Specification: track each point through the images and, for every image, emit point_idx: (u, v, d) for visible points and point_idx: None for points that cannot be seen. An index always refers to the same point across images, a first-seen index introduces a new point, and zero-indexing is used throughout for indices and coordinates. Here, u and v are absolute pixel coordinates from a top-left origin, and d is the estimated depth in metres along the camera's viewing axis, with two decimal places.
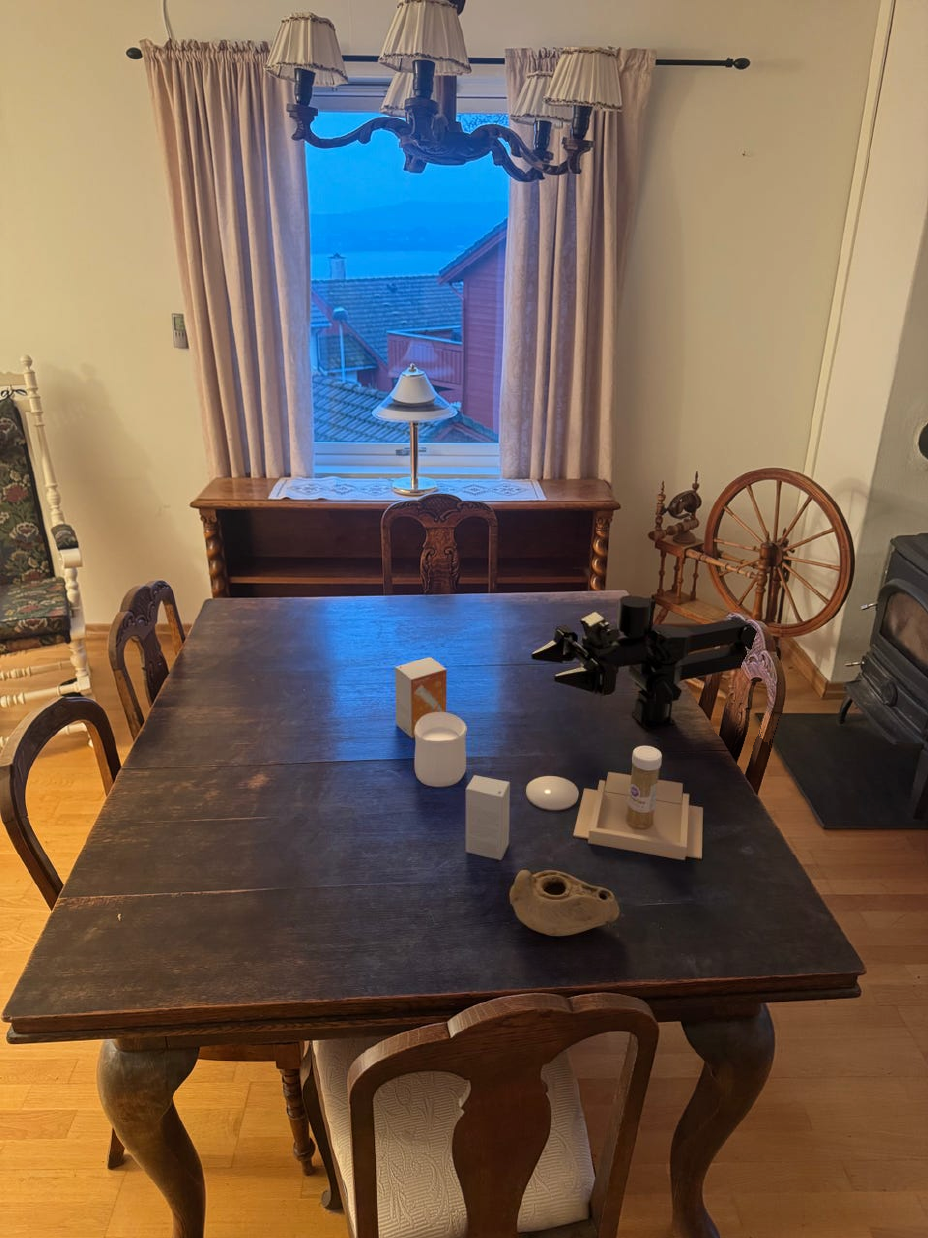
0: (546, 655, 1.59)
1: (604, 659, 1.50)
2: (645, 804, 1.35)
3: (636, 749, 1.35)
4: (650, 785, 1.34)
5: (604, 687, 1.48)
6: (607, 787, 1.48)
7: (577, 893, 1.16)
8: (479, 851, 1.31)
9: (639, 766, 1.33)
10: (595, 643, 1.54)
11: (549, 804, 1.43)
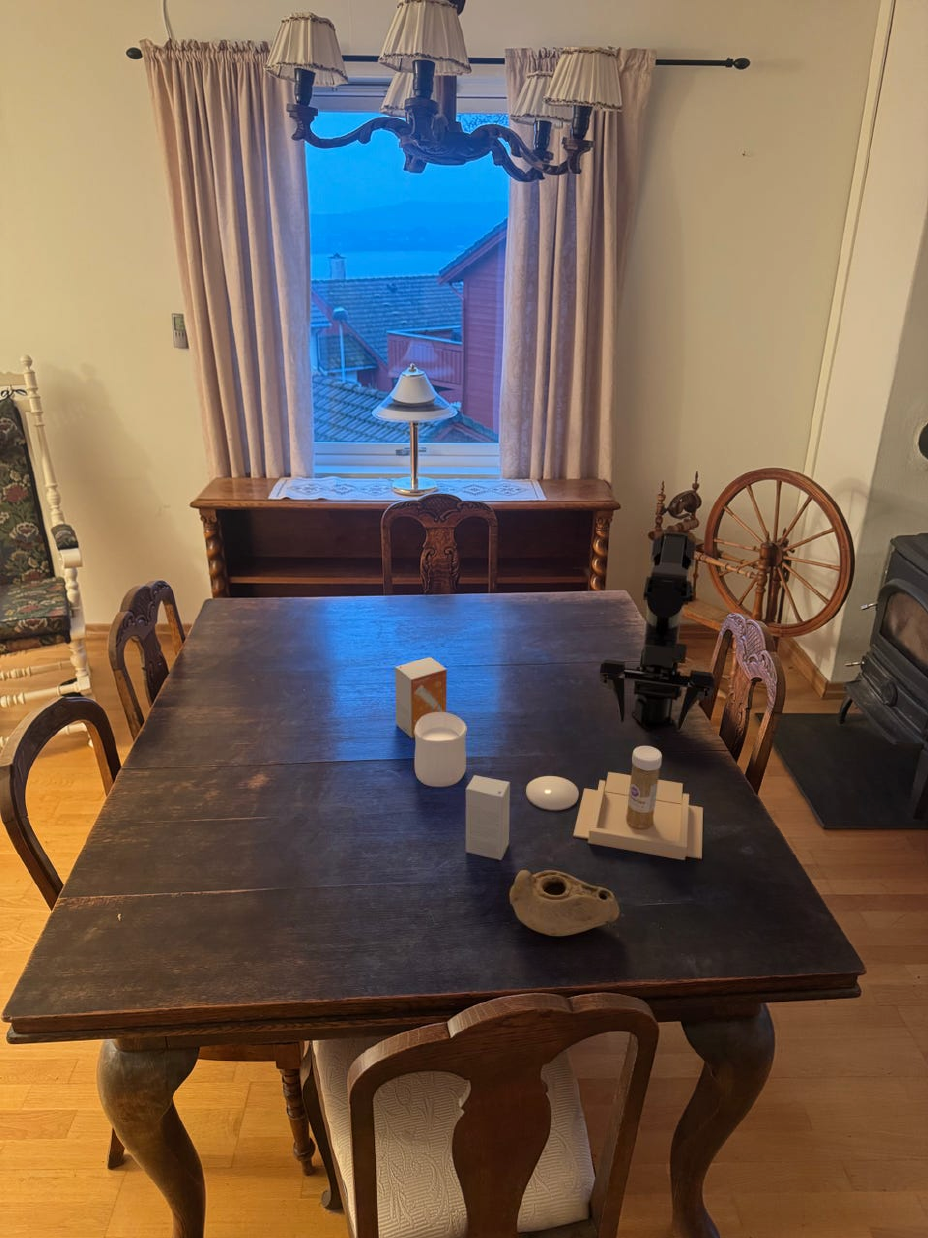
0: None
1: (697, 676, 1.39)
2: (645, 804, 1.35)
3: (636, 749, 1.35)
4: (650, 785, 1.34)
5: (711, 693, 1.42)
6: (607, 787, 1.48)
7: (577, 893, 1.16)
8: (479, 851, 1.31)
9: (639, 766, 1.33)
10: None
11: (549, 804, 1.43)
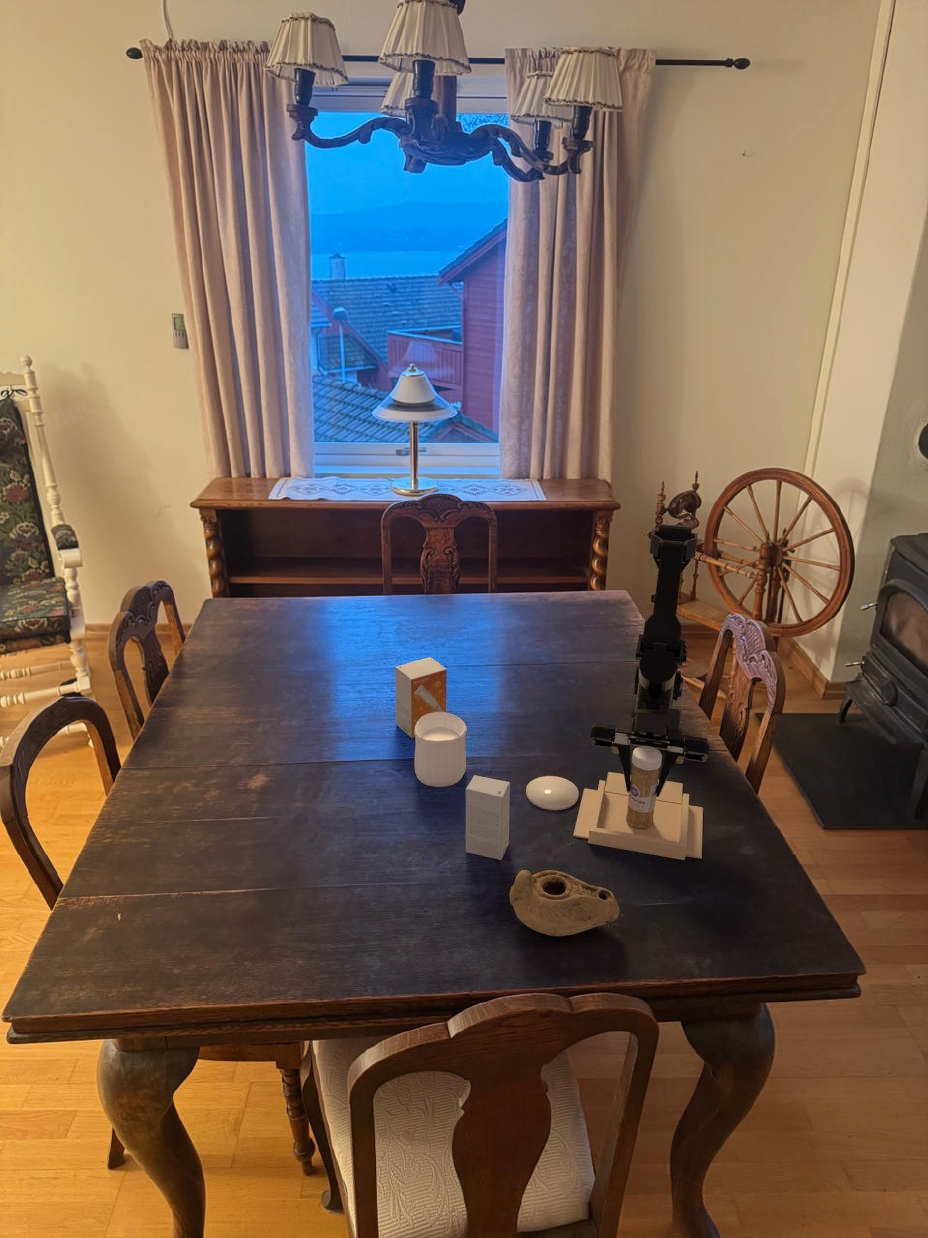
0: None
1: (691, 742, 1.34)
2: (645, 804, 1.35)
3: (636, 749, 1.35)
4: (650, 785, 1.34)
5: (706, 758, 1.36)
6: (607, 787, 1.48)
7: (577, 893, 1.16)
8: (479, 851, 1.31)
9: (639, 766, 1.33)
10: None
11: (549, 804, 1.43)
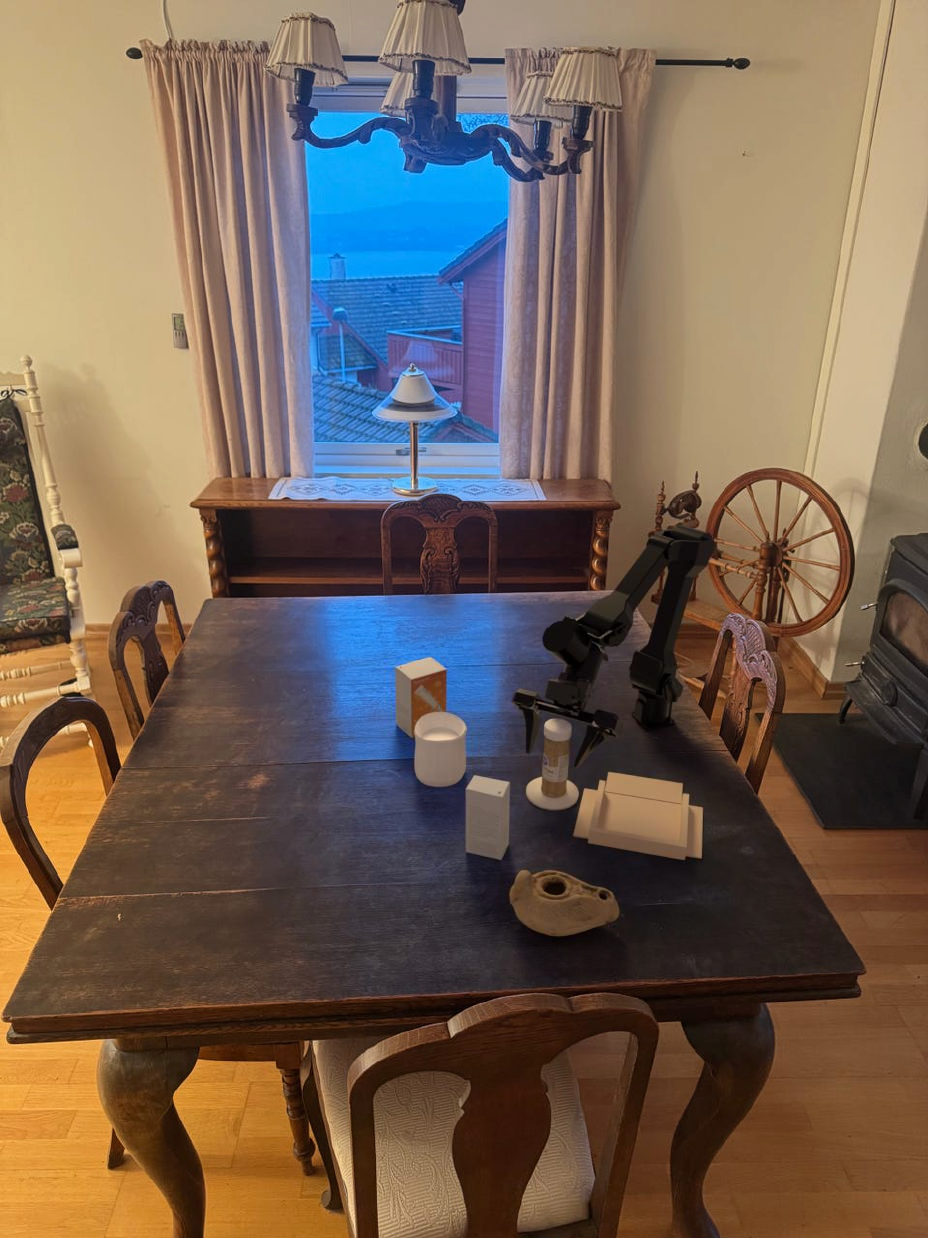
0: (534, 736, 1.45)
1: (600, 716, 1.39)
2: (554, 774, 1.42)
3: (549, 720, 1.42)
4: (558, 755, 1.40)
5: (618, 734, 1.41)
6: (607, 787, 1.48)
7: (577, 893, 1.16)
8: (479, 851, 1.31)
9: (547, 736, 1.40)
10: None
11: (549, 804, 1.43)
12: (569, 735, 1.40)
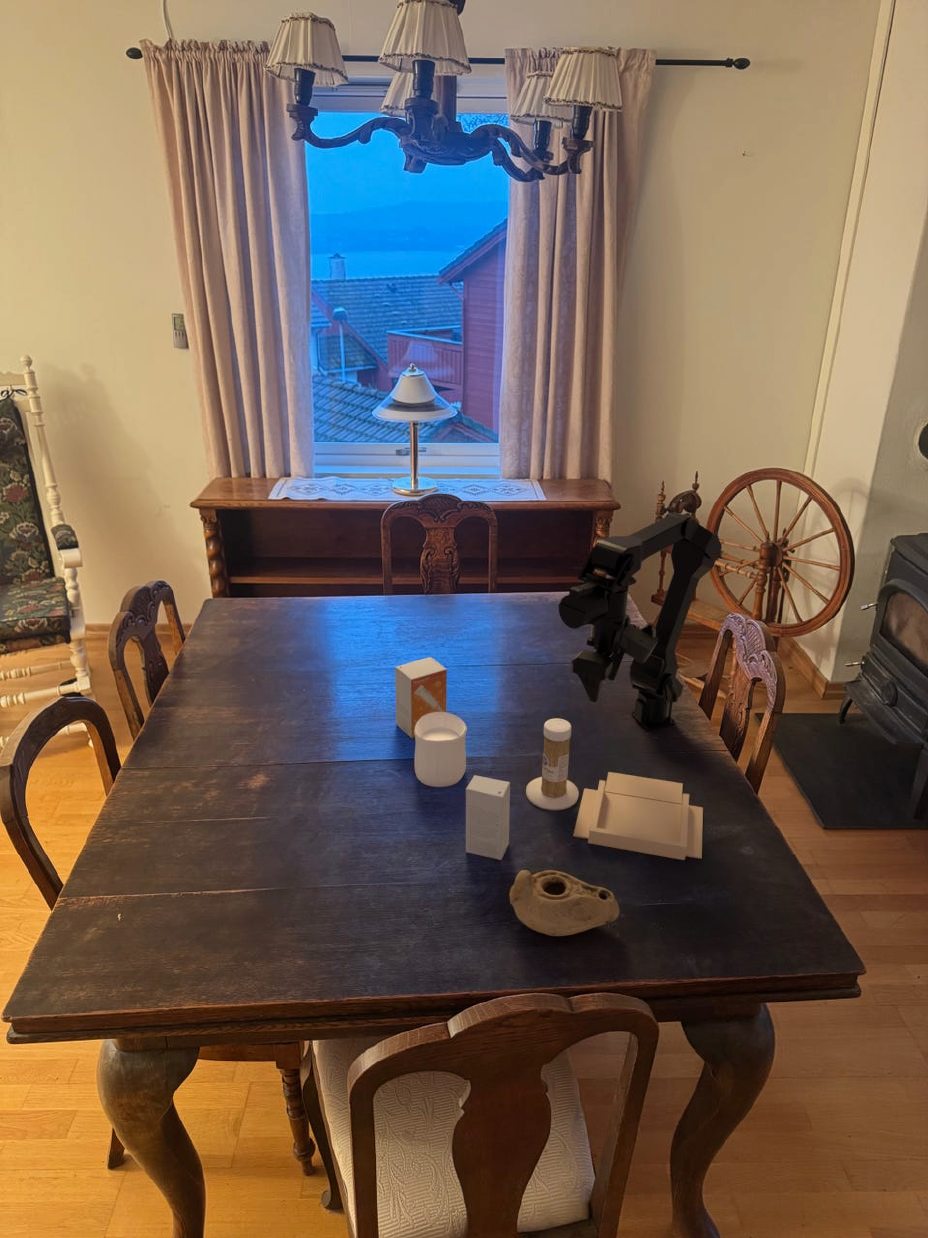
0: None
1: None
2: (554, 774, 1.42)
3: (549, 720, 1.42)
4: (557, 755, 1.40)
5: None
6: (607, 787, 1.48)
7: (577, 893, 1.16)
8: (479, 851, 1.31)
9: (547, 736, 1.40)
10: None
11: (549, 804, 1.43)
12: (569, 735, 1.40)
